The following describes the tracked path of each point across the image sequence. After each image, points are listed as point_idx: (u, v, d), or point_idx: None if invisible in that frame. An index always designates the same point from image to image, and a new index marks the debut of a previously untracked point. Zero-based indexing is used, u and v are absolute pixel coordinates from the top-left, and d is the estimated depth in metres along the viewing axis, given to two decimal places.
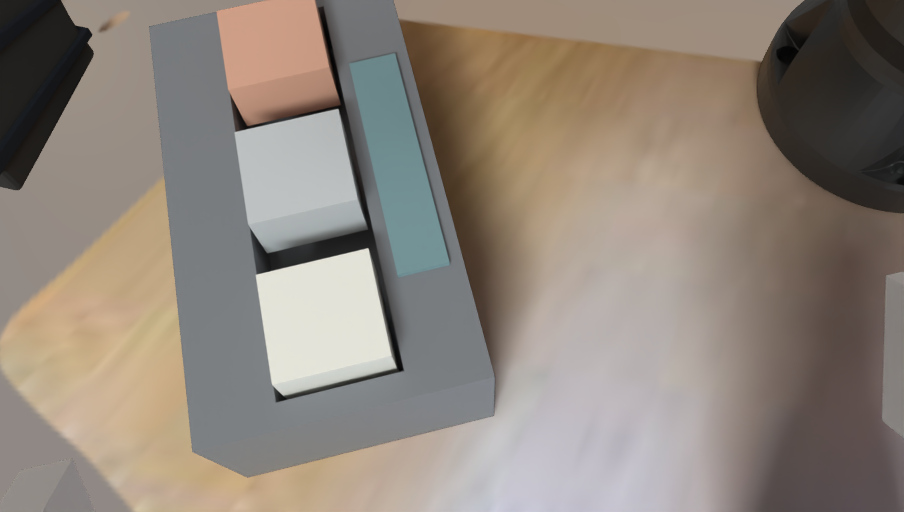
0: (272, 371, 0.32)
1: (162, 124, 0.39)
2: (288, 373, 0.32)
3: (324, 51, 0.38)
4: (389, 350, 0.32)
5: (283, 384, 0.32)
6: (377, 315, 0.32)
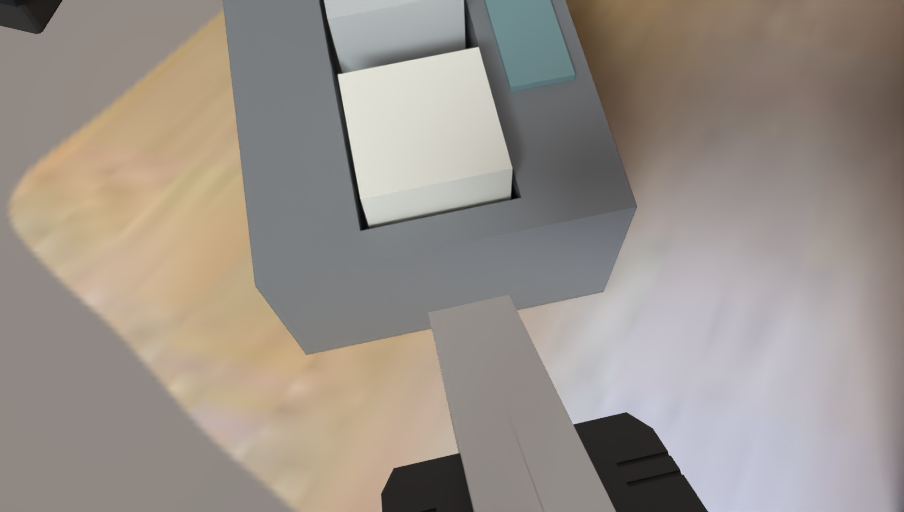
0: (360, 184, 0.25)
1: None
2: (380, 186, 0.25)
3: None
4: (509, 162, 0.25)
5: (373, 201, 0.25)
6: (493, 122, 0.26)
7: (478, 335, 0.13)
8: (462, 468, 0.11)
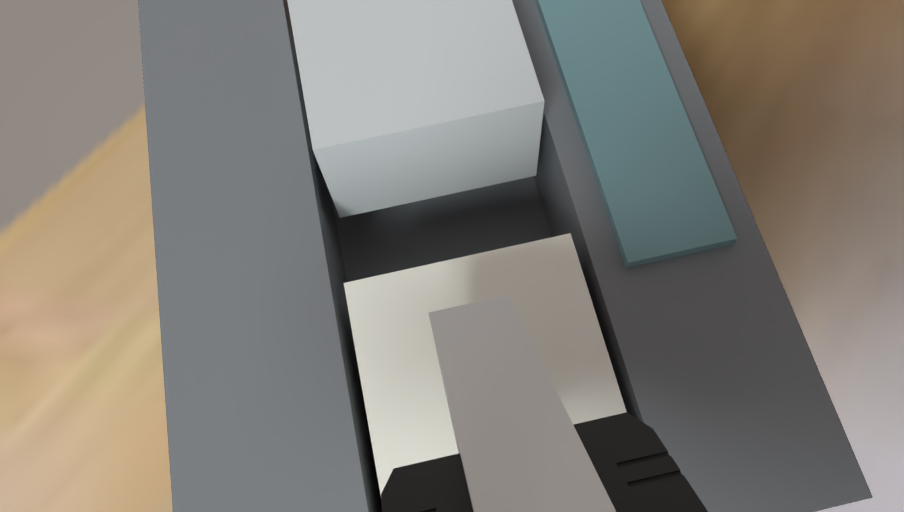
0: None
1: None
2: None
3: None
4: None
5: None
6: (604, 374, 0.15)
7: (478, 335, 0.13)
8: (462, 468, 0.11)
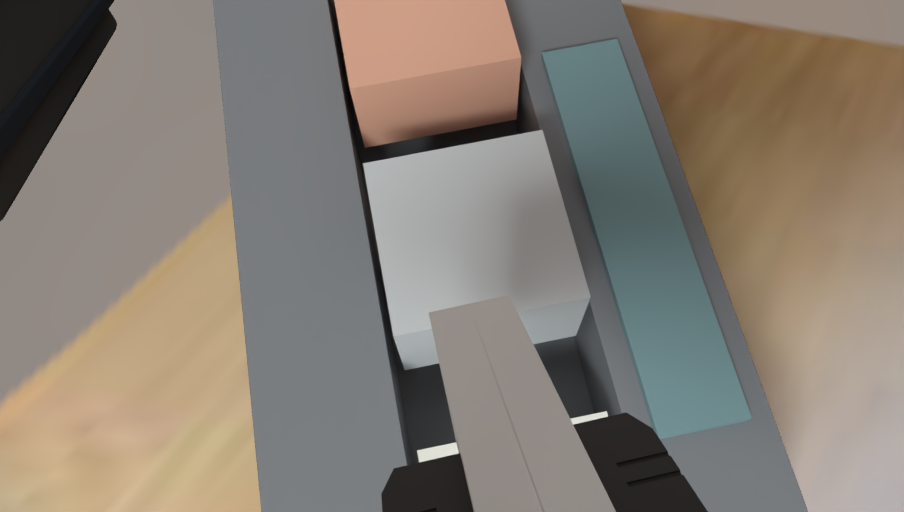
0: None
1: (232, 141, 0.23)
2: None
3: (511, 30, 0.23)
4: None
5: None
6: None
7: (478, 335, 0.13)
8: (462, 468, 0.11)
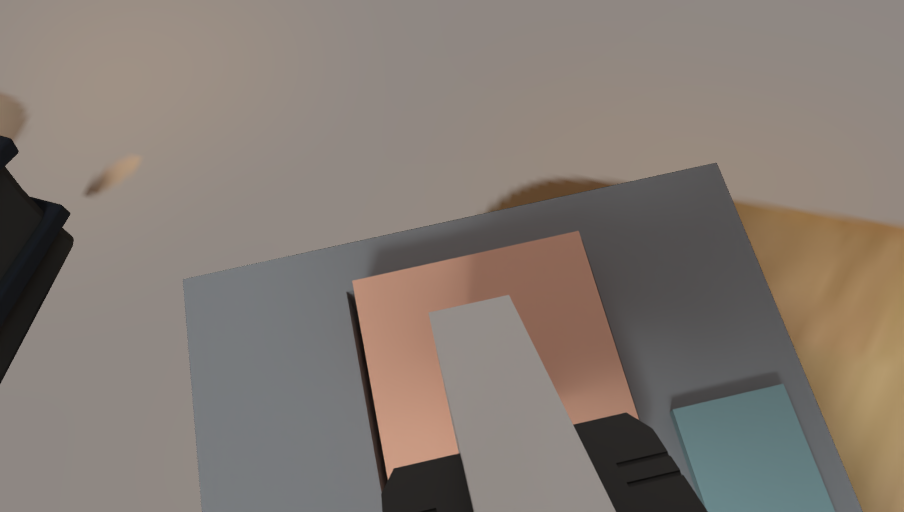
0: None
1: None
2: None
3: (632, 410, 0.15)
4: None
5: None
6: None
7: (478, 335, 0.13)
8: (462, 468, 0.11)
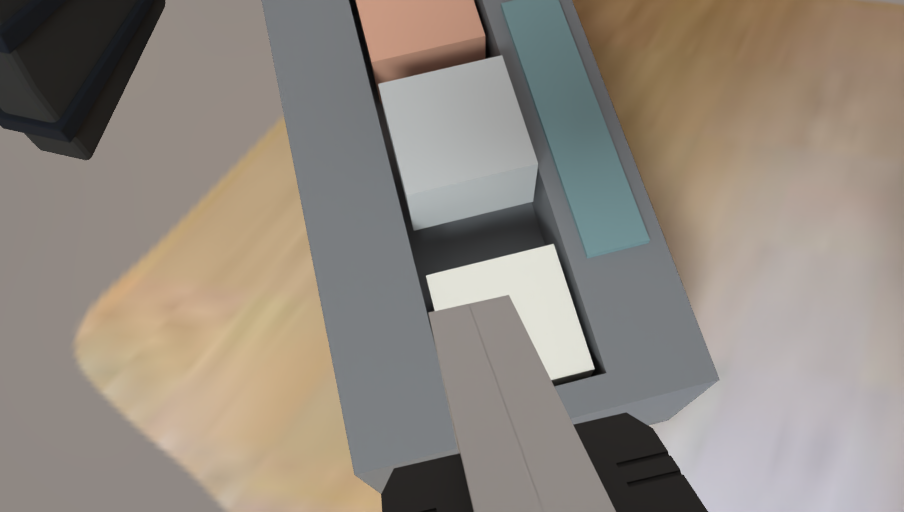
0: None
1: (280, 76, 0.32)
2: None
3: (477, 17, 0.33)
4: (591, 362, 0.28)
5: None
6: (573, 322, 0.28)
7: (478, 335, 0.13)
8: (462, 468, 0.11)
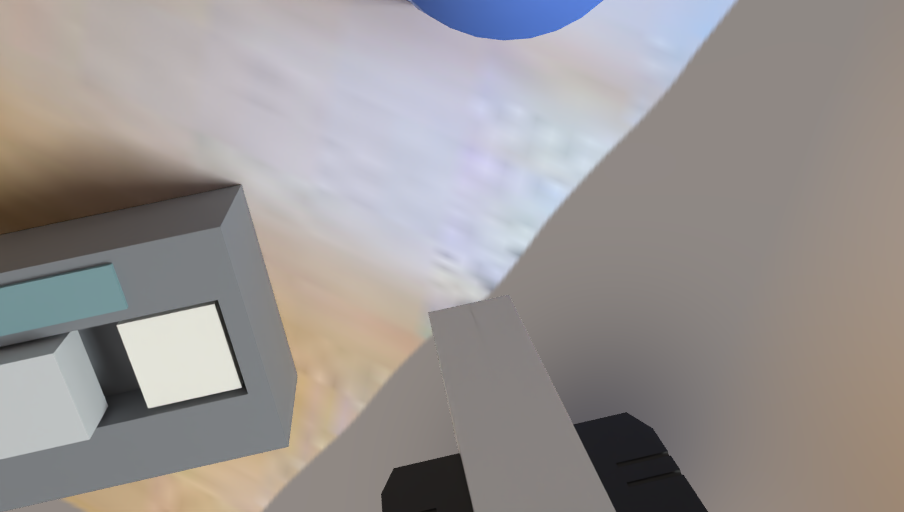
0: (230, 388, 0.41)
1: None
2: (232, 377, 0.41)
3: None
4: (210, 305, 0.39)
5: (240, 378, 0.41)
6: (179, 315, 0.39)
7: (478, 335, 0.13)
8: (462, 468, 0.11)
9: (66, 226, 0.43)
